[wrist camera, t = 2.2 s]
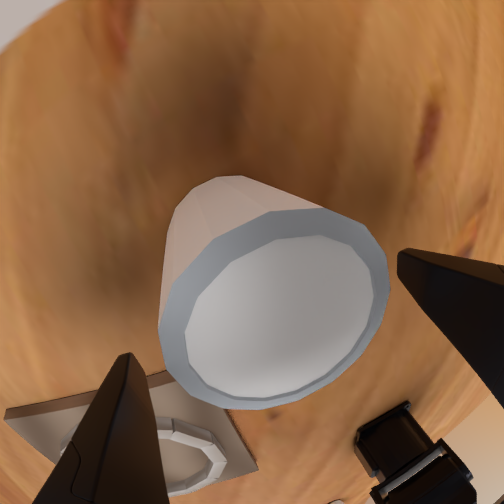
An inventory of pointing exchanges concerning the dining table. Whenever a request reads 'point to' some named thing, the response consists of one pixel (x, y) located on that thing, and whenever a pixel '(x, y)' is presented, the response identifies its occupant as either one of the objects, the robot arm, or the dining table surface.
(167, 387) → the ring holder
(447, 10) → the dining table surface
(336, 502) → the white rounded block
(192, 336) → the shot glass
